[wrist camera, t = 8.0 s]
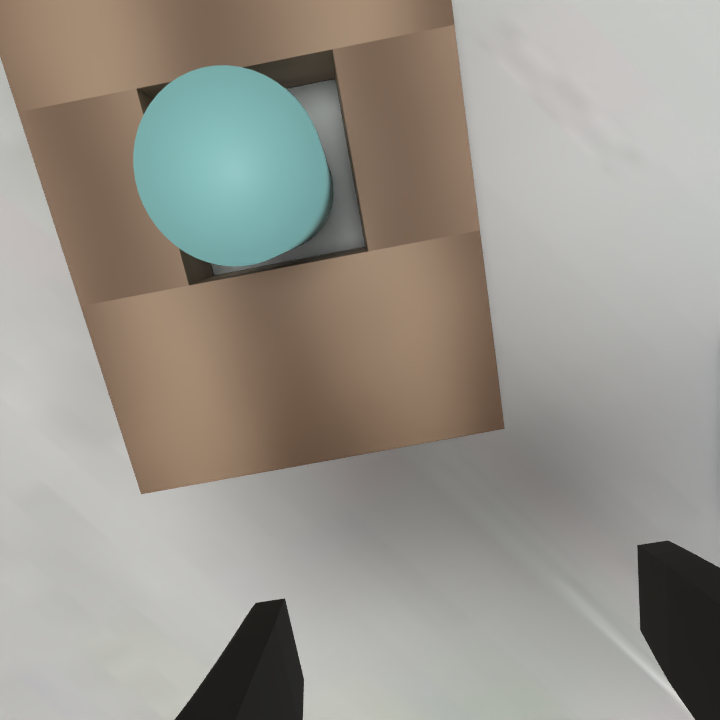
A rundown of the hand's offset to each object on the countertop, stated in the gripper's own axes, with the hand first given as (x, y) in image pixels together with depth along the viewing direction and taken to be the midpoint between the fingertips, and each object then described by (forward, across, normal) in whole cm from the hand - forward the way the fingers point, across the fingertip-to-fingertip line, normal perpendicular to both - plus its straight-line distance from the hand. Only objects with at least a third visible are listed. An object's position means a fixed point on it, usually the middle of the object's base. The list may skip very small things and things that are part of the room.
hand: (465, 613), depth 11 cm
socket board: (+10, +3, -10) cm, 14 cm away
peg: (+10, +3, -9) cm, 14 cm away
